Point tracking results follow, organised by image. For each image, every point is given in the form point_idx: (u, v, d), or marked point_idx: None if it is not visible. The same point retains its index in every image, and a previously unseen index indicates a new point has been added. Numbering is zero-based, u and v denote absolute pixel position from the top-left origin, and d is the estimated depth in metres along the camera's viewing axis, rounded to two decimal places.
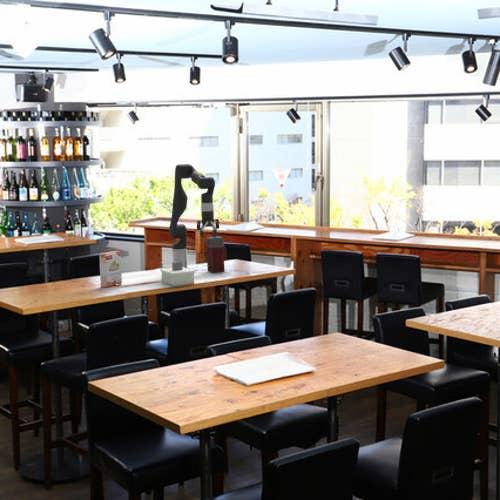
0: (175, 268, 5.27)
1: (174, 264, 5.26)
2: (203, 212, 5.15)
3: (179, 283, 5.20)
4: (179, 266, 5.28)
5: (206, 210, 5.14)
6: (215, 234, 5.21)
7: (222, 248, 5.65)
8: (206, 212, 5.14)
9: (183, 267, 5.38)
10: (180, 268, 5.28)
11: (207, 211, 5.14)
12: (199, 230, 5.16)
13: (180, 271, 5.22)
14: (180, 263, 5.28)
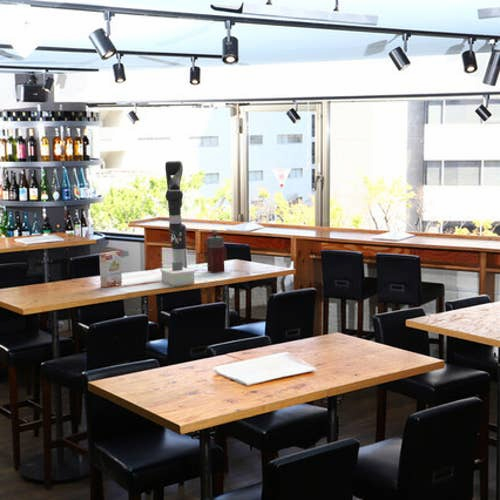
0: (175, 268, 5.27)
1: (174, 264, 5.26)
2: (179, 224, 5.23)
3: (179, 283, 5.20)
4: (179, 266, 5.28)
5: (181, 222, 5.24)
6: None
7: (222, 248, 5.65)
8: (181, 223, 5.24)
9: (183, 267, 5.38)
10: (180, 268, 5.28)
11: (181, 222, 5.25)
12: (181, 242, 5.21)
13: (180, 271, 5.22)
14: (180, 263, 5.28)
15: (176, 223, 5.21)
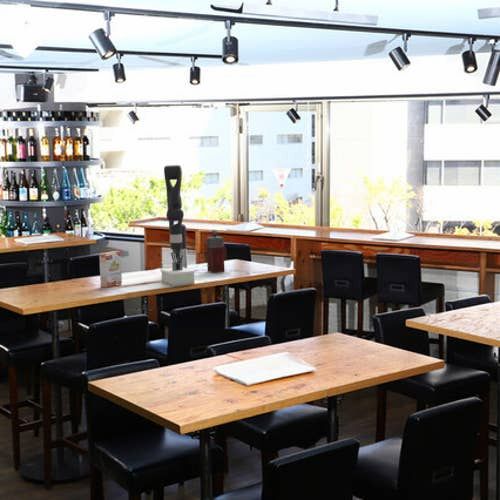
0: (175, 268, 5.27)
1: (174, 264, 5.26)
2: (180, 243, 5.24)
3: (179, 283, 5.20)
4: None
5: (182, 241, 5.26)
6: None
7: (222, 248, 5.65)
8: (182, 242, 5.26)
9: (183, 267, 5.38)
10: (180, 268, 5.28)
11: (182, 242, 5.26)
12: None
13: (180, 271, 5.22)
14: (180, 263, 5.28)
15: (177, 242, 5.23)
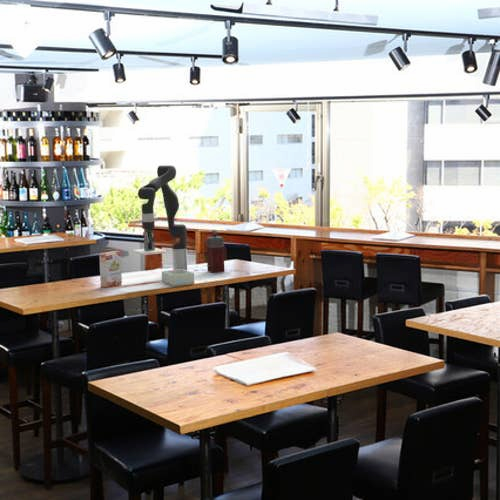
0: (147, 248, 5.16)
1: (146, 244, 5.16)
2: (152, 222, 5.14)
3: (179, 283, 5.20)
4: None
5: None
6: None
7: (222, 248, 5.65)
8: None
9: None
10: (152, 248, 5.18)
11: None
12: (152, 241, 5.15)
13: (152, 251, 5.12)
14: (152, 243, 5.18)
15: (149, 221, 5.12)
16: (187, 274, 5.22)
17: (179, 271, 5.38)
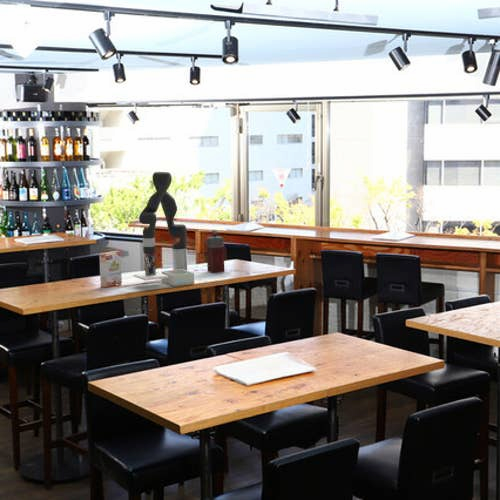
0: (148, 273, 5.18)
1: (147, 269, 5.18)
2: (153, 247, 5.16)
3: (179, 283, 5.20)
4: None
5: None
6: None
7: (222, 248, 5.65)
8: None
9: (157, 272, 5.30)
10: (153, 273, 5.20)
11: None
12: (153, 266, 5.17)
13: (153, 276, 5.14)
14: (153, 268, 5.20)
15: (150, 246, 5.14)
16: (187, 274, 5.22)
17: (179, 271, 5.38)
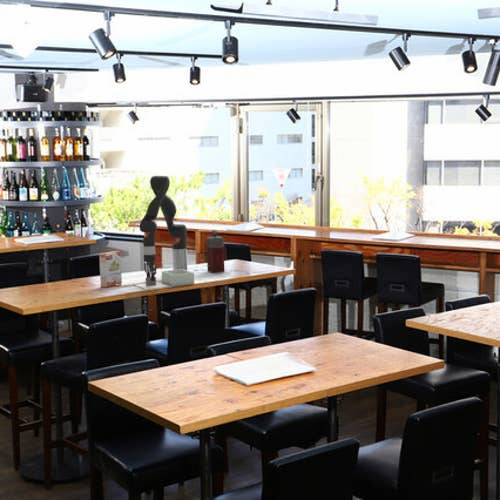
0: (149, 283, 5.19)
1: (147, 279, 5.19)
2: (153, 255, 5.16)
3: (179, 283, 5.20)
4: (153, 281, 5.21)
5: (155, 253, 5.18)
6: None
7: (222, 248, 5.65)
8: (155, 254, 5.18)
9: (157, 282, 5.31)
10: (154, 283, 5.21)
11: (155, 254, 5.19)
12: (154, 274, 5.16)
13: (153, 287, 5.15)
14: None
15: (150, 254, 5.15)
16: (187, 274, 5.22)
17: (179, 271, 5.38)
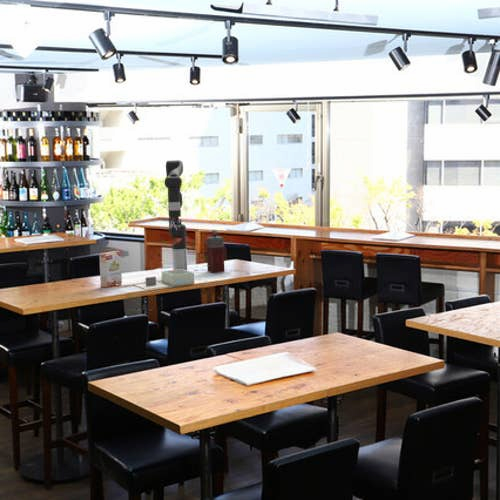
0: (149, 283, 5.19)
1: (147, 279, 5.19)
2: (178, 211, 5.21)
3: (179, 283, 5.20)
4: (153, 281, 5.21)
5: (180, 208, 5.23)
6: (174, 232, 5.30)
7: (222, 248, 5.65)
8: (180, 210, 5.23)
9: (157, 282, 5.31)
10: (154, 283, 5.21)
11: (180, 209, 5.24)
12: (180, 229, 5.20)
13: (153, 287, 5.15)
14: (154, 278, 5.21)
15: (175, 210, 5.20)
16: (187, 274, 5.22)
17: (179, 271, 5.38)
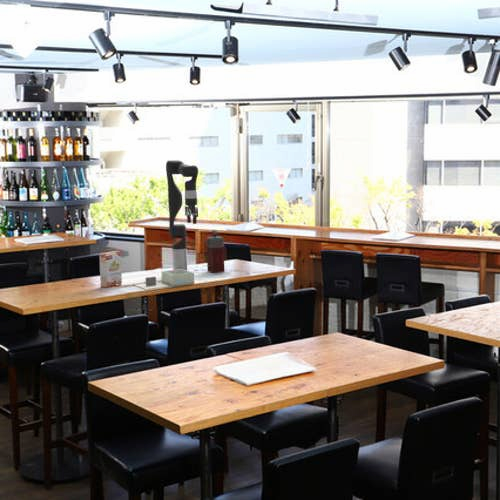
0: (149, 283, 5.19)
1: (147, 279, 5.19)
2: (195, 199, 5.30)
3: (179, 283, 5.20)
4: (153, 281, 5.21)
5: (196, 197, 5.32)
6: (190, 221, 5.39)
7: (222, 248, 5.65)
8: (196, 198, 5.32)
9: (157, 282, 5.31)
10: (154, 283, 5.21)
11: (196, 198, 5.32)
12: (196, 217, 5.29)
13: (153, 287, 5.15)
14: (154, 278, 5.21)
15: (192, 198, 5.29)
16: (187, 274, 5.22)
17: (179, 271, 5.38)
